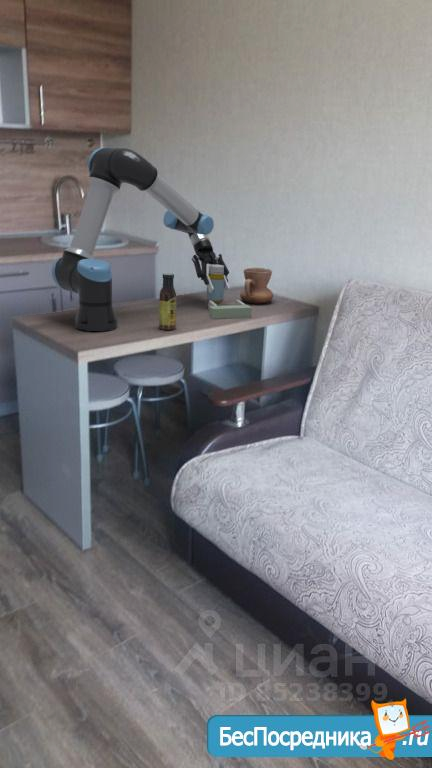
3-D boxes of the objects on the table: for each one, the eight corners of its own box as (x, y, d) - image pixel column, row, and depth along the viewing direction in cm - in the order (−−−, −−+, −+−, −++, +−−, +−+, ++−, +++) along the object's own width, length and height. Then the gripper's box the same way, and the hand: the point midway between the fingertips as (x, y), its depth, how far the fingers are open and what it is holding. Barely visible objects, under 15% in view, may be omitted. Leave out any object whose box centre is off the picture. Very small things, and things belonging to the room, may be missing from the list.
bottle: (205, 299, 254) (206, 264, 249) (221, 300, 255) (223, 264, 250) (207, 303, 248) (209, 266, 242) (224, 303, 249) (226, 267, 244)
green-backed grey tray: (212, 318, 235) (212, 308, 234) (203, 310, 247) (203, 300, 245) (251, 317, 239) (251, 307, 238) (240, 309, 251) (241, 299, 250)
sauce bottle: (173, 331, 217) (174, 276, 210) (156, 329, 218) (156, 274, 211) (178, 326, 223) (179, 273, 216) (161, 325, 224) (162, 271, 217)
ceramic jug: (253, 296, 276) (254, 265, 271) (280, 301, 268) (282, 269, 263) (230, 303, 263) (231, 270, 257) (258, 308, 255) (259, 275, 249)
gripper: (218, 249, 262) (236, 293, 255) (177, 250, 252) (195, 296, 245) (225, 238, 256) (243, 283, 249) (184, 239, 246) (202, 286, 239)
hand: (219, 290), depth 247 cm, fingers closed on bottle, 7 cm apart
